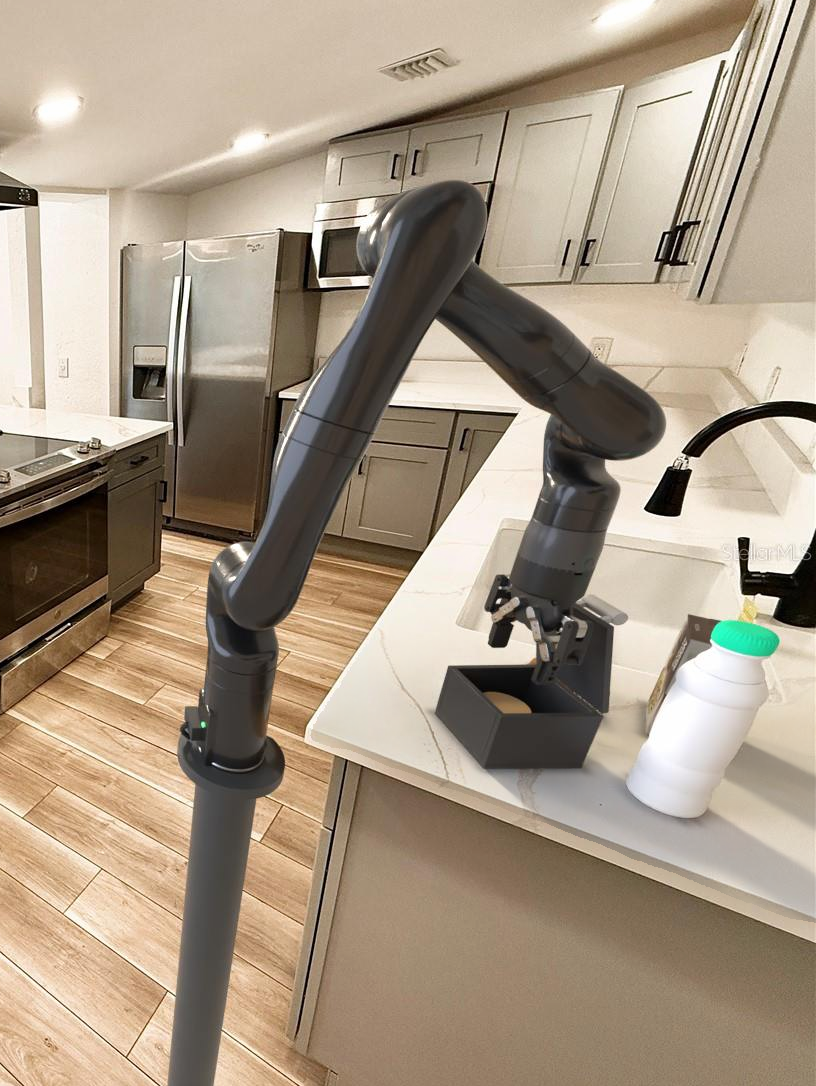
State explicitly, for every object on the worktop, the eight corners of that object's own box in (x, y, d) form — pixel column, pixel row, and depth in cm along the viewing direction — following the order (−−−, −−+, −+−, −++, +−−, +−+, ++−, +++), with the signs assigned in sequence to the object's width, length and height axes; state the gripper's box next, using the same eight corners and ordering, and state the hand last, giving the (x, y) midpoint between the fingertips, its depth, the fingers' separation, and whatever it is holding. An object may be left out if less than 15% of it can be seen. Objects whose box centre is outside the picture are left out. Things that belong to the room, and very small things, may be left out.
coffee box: (709, 755, 83) (762, 656, 76) (643, 734, 87) (689, 638, 80) (706, 721, 89) (756, 626, 82) (644, 703, 93) (687, 611, 86)
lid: (607, 628, 73) (653, 617, 72) (536, 584, 84) (576, 574, 83) (601, 714, 78) (645, 705, 77) (535, 662, 89) (573, 653, 88)
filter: (485, 749, 85) (496, 719, 83) (459, 721, 90) (468, 691, 88) (530, 749, 84) (542, 718, 82) (501, 720, 90) (511, 691, 88)
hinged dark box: (483, 768, 83) (501, 717, 79) (434, 713, 93) (448, 665, 90) (581, 768, 82) (604, 716, 78) (520, 712, 92) (537, 664, 89)
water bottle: (700, 795, 77) (793, 624, 67) (705, 831, 72) (806, 653, 62) (623, 769, 81) (700, 606, 71) (624, 801, 77) (705, 631, 66)
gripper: (487, 533, 82) (456, 636, 89) (569, 581, 69) (526, 697, 76) (545, 533, 82) (510, 635, 89) (639, 581, 69) (589, 697, 76)
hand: (517, 664), depth 82 cm, fingers open, 8 cm apart
